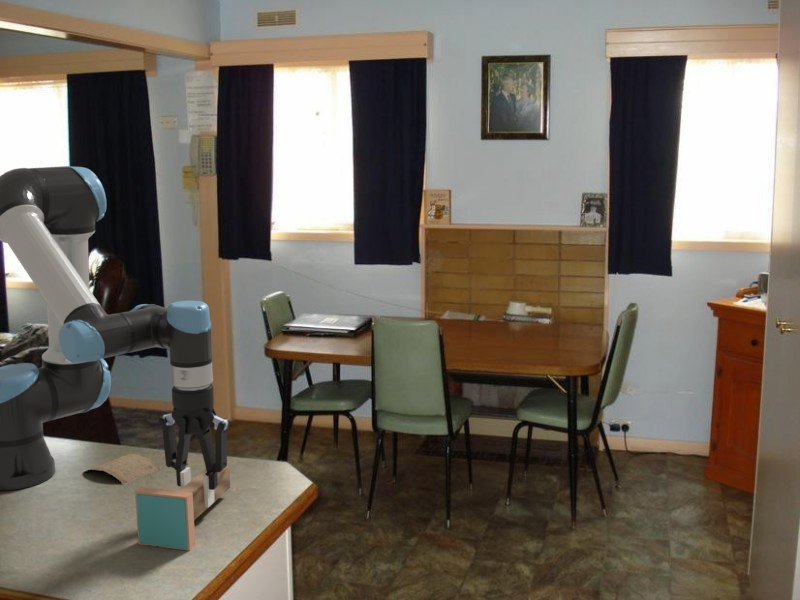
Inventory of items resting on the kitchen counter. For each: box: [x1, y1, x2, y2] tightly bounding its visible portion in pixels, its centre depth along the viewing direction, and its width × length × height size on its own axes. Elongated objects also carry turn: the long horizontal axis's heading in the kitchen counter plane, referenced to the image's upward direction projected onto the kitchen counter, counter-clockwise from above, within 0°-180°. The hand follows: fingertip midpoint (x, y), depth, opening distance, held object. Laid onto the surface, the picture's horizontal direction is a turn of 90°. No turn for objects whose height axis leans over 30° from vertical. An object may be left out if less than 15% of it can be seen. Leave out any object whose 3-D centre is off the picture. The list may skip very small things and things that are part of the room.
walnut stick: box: [178, 466, 231, 521], centre depth 161 cm, size 20×4×4 cm, turn 166°
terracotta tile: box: [134, 486, 196, 551], centre depth 150 cm, size 2×10×10 cm, turn 76°
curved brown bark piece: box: [84, 453, 161, 485], centre depth 183 cm, size 14×10×3 cm
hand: (198, 502), depth 162 cm, fingers closed on walnut stick, 4 cm apart
